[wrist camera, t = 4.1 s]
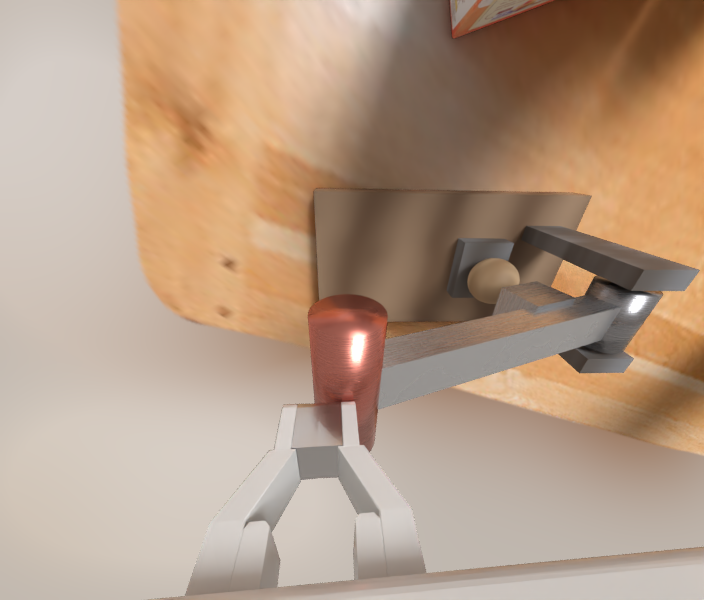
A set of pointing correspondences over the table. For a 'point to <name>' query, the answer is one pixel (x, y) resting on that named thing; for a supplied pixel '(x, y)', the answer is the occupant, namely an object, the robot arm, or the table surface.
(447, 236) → the tabletop arbor press
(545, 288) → the lever
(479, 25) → the cracker box
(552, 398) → the table surface
